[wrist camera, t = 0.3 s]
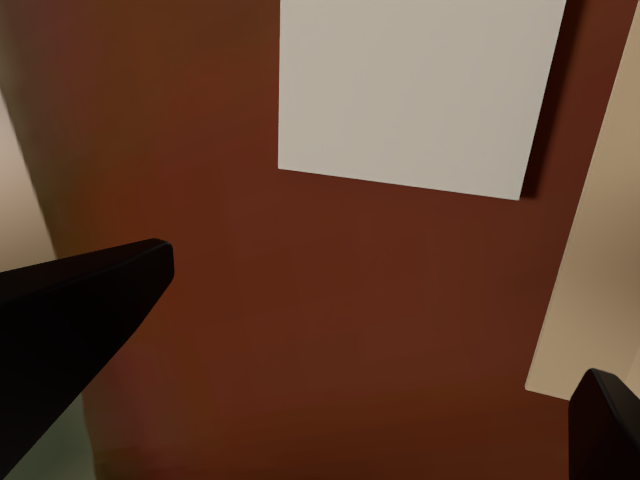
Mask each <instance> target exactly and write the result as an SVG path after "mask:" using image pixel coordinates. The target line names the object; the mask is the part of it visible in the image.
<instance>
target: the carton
mask: <svg viewBox="0 0 640 480" xmlns="http://www.w3.org/2000/svg"><path fill="white" fill-rule="evenodd" d="M590 368H596V369H599V370H603V371H606V372H610V373H613V374H615V375H616V376H617V377H619V378H620V379H621V380H622V382H623V383H624V384H625V385H626V386H627V387H628V388H629V389H630V390H631V391H632V392H633V393H634V394H635V395H636V396H637V397H638V398H639V399H640V0H639V1H638V5H637V8H636V11H635V15H634V18H633V22H632V25H631V28H630V32H629V35H628V38H627V42H626V45H625V49H624V52H623V55H622V59H621V62H620V66H619V69H618V72H617V76H616V79H615V82H614V86H613V89H612V93H611V96H610V99H609V103H608V106H607V110H606V113H605V116H604V120H603V123H602V126H601V130H600V133H599V137H598V140H597V143H596V147H595V150H594V154H593V157H592V160H591V164H590V167H589V170H588V174H587V177H586V181H585V184H584V187H583V191H582V194H581V198H580V201H579V204H578V208H577V211H576V214H575V218H574V221H573V225H572V228H571V231H570V235H569V238H568V241H567V245H566V248H565V252H564V255H563V258H562V262H561V265H560V269H559V272H558V275H557V279H556V282H555V285H554V289H553V292H552V296H551V299H550V302H549V306H548V309H547V313H546V316H545V319H544V323H543V326H542V329H541V333H540V336H539V340H538V343H537V346H536V350H535V353H534V357H533V360H532V363H531V367H530V370H529V373H528V377H527V380H526V384H525V389H526V390H529V391H533V392H537V393H542V394H546V395H550V396H554V397H558V398H562V399H566V400H570V399H571V396H572V394H573V393H574V391H575V389H576V388H577V386H578V384H579V382H580V381H581V379H582V377H583V376H584V374H585V372H586V371H587V370H588V369H590Z"/></svg>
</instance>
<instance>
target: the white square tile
mask: <svg viewBox="0 0 640 480" xmlns="http://www.w3.org/2000/svg"><path fill="white" fill-rule="evenodd" d="M565 4H566V0H281V5H280V74H279V144H278V168H279V169H287V170H294V171H302V172H309V173H317V174H324V175H332V176H339V177H347V178H354V179H362V180H369V181H377V182H384V183H392V184H399V185H407V186H414V187H422V188H429V189H437V190H444V191H452V192H459V193H467V194H475V195H482V196H490V197H497V198H505V199H512V200H519V197H520V192H521V188H522V184H523V180H524V176H525V171H526V167H527V163H528V159H529V155H530V151H531V146H532V142H533V138H534V134H535V130H536V125H537V121H538V117H539V113H540V109H541V104H542V100H543V96H544V92H545V88H546V84H547V79H548V75H549V71H550V67H551V63H552V58H553V54H554V50H555V46H556V42H557V37H558V33H559V29H560V25H561V21H562V16H563V12H564V8H565Z"/></svg>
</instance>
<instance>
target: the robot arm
mask: <svg viewBox="0 0 640 480" xmlns="http://www.w3.org/2000/svg"><path fill="white" fill-rule="evenodd" d="M173 277H174V258H173V247H172V245H171V244H170V243H169V242H167V241H164V240H160V239H157V238H152V239H147V240H143V241H139V242H134V243H130V244H125V245H121V246H116V247H112V248H107V249H103V250H98V251H94V252H89V253H85V254H80V255H76V256H71V257H67V258H63V259H58V260H54V261H49V262H45V263H40V264H36V265H31V266H27V267H22V268H18V269H13V270H9V271H4V272H0V480H3V479H4V478H5V476H7V474H8V473H9V472H10V471H11V470H12V469H13V468H14V467H15V465H16V464H17V463H18V462H19V461H20V460H21V459H22V458H23V456H24V455H25V454H26V453H27V452H28V451H29V450H30V449H31V448H32V446H33V445H34V444H35V443H36V442H37V441H38V440H39V438H41V436H42V435H43V434H44V433H45V432H46V431H47V430H48V428H49V427H50V426H51V425H52V424H53V423H54V422H55V421H56V420H57V418H58V417H59V416H60V415H61V414H62V413H63V412H64V411H65V409H66V408H67V407H68V406H69V405H70V404H71V403H72V402H73V401H74V399H75V398H76V397H77V396H78V395H79V394H80V393H81V392H82V391H83V389H84V388H85V387H86V386H87V385H88V384H89V383H90V382H91V380H92V379H93V378H94V377H95V376H96V375H97V374H98V373H99V371H100V370H101V369H102V368H103V367H104V366H105V365H106V364H107V363H108V361H109V360H110V359H111V358H112V357H113V356H114V355H115V354H116V352H117V351H118V350H119V349H120V348H121V347H122V346H123V345H124V344H125V342H126V341H127V340H128V339H129V338H130V337H131V336H132V334H133V333H134V332H135V331H136V330H137V328H138V327H139V326H140V324H141V323H142V322H143V320H144V319H145V318H146V316H147V315H148V313H149V312H150V311H151V309H152V308H153V307H154V305H155V304H156V302H157V301H158V300H159V298H160V297H161V295H162V294H163V293H164V291H165V290H166V289H167V287H168V286H169V284H170V283H171V281H172V279H173ZM568 430H569V480H640V399H639V398H638V397H637V396H636V395H635V394H634V393H633V392H632V391H631V390H630V389H629V388H628V387H627V386H626V385H625V384H624V383H623V382H622V380H621V379H620V378H619V377H617V376H616V375H615V374H613V373H610V372H606V371H603V370H599V369H596V368H590V369H588V370H587V371H586V372H585V374H584V376H583V377H582V379H581V381H580V382H579V384H578V386H577V388H576V389H575V391H574V393H573V394H572V396H571V399H570V402H569V407H568Z"/></svg>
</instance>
